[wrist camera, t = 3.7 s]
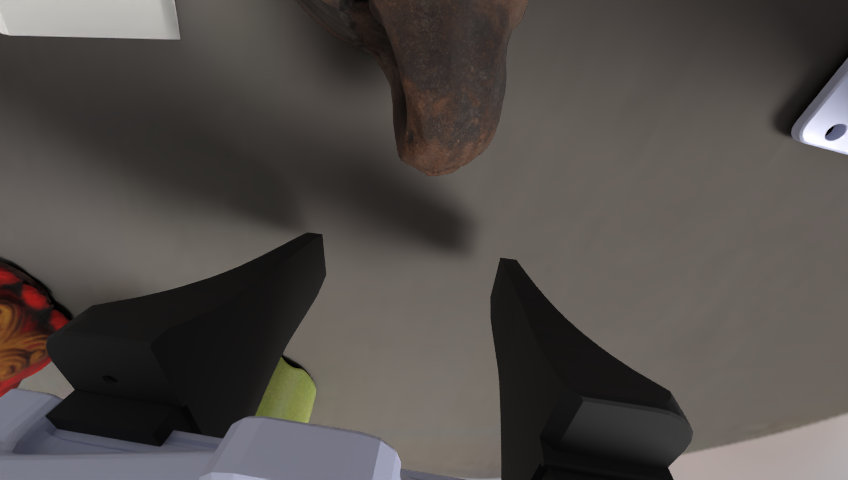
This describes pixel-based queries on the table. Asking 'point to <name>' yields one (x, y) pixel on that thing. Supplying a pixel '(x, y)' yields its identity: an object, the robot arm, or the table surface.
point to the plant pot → (288, 394)
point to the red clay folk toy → (24, 327)
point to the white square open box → (90, 18)
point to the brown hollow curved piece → (433, 69)
